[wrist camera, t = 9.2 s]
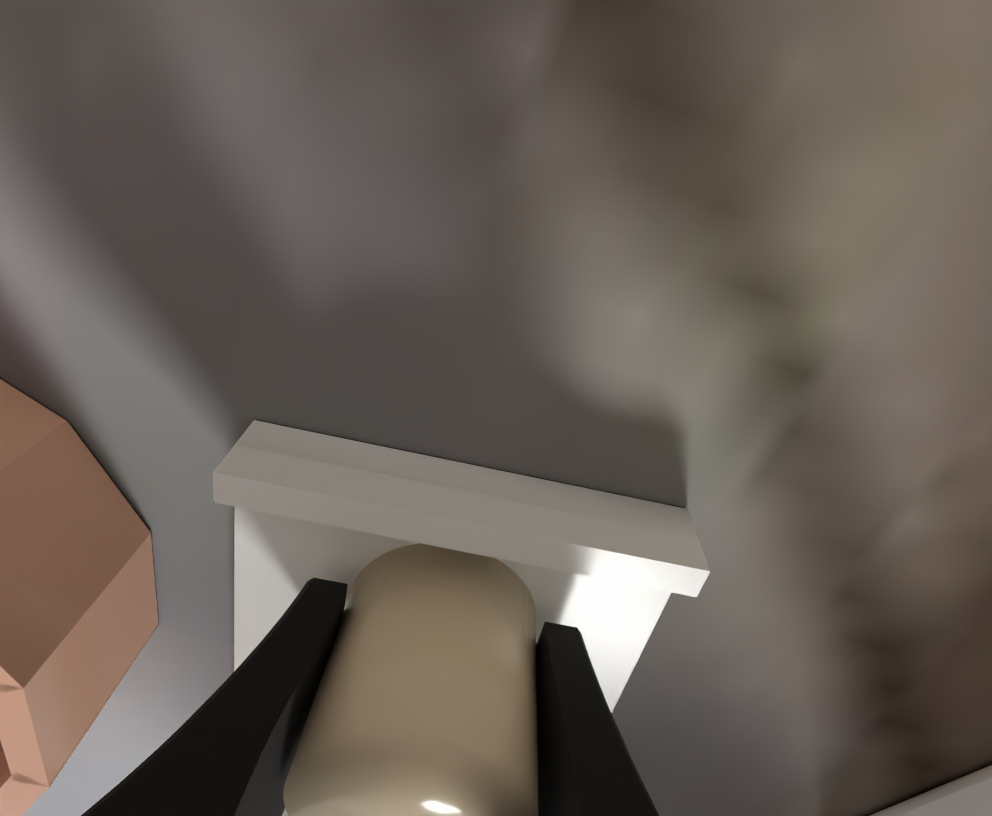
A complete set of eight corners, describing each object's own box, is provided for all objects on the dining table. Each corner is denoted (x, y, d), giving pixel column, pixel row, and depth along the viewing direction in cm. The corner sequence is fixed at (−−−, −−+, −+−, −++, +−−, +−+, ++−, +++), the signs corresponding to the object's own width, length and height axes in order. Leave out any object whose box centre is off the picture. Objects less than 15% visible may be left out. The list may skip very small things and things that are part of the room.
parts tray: (532, 839, 17) (532, 908, 16) (246, 791, 17) (219, 857, 15) (687, 508, 11) (710, 571, 10) (254, 419, 11) (213, 472, 9)
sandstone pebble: (512, 689, 13) (506, 892, 10) (341, 658, 12) (278, 856, 9) (557, 564, 11) (568, 762, 8) (359, 525, 11) (288, 712, 8)
